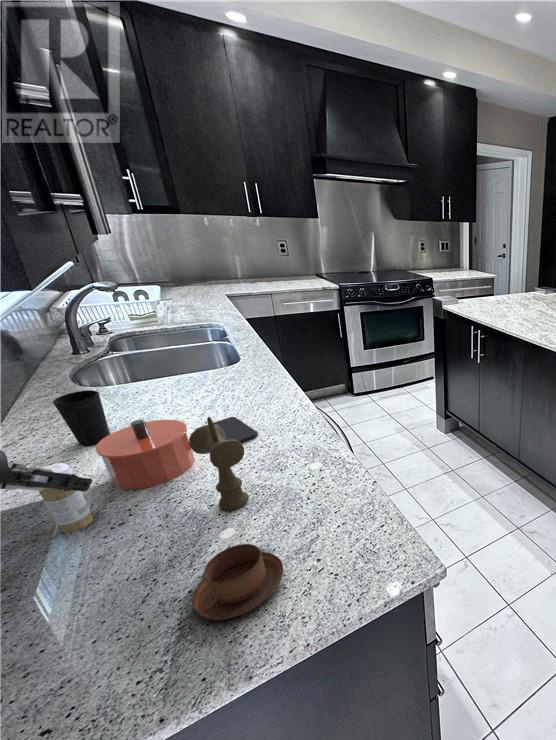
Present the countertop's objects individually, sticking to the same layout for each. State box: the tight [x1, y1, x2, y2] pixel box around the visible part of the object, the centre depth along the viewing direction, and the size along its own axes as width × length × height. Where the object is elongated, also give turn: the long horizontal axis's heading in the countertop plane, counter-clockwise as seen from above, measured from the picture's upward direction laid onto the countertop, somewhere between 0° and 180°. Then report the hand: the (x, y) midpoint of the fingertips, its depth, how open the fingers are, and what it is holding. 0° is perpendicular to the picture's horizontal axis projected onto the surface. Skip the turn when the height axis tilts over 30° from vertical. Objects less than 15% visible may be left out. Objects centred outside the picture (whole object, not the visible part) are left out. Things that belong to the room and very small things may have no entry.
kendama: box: [188, 416, 250, 511], centre depth 78 cm, size 6×10×20 cm, turn 55°
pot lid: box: [94, 419, 188, 458], centre depth 84 cm, size 15×15×5 cm
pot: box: [101, 432, 196, 491], centre depth 87 cm, size 14×14×10 cm
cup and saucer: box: [191, 543, 284, 621], centre depth 63 cm, size 12×12×6 cm
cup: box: [52, 389, 111, 447], centre depth 98 cm, size 8×8×12 cm
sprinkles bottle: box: [38, 462, 94, 533], centre depth 71 cm, size 5×5×14 cm
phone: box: [213, 416, 259, 443], centre depth 106 cm, size 7×1×15 cm
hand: (65, 483), depth 71 cm, fingers open, 8 cm apart
